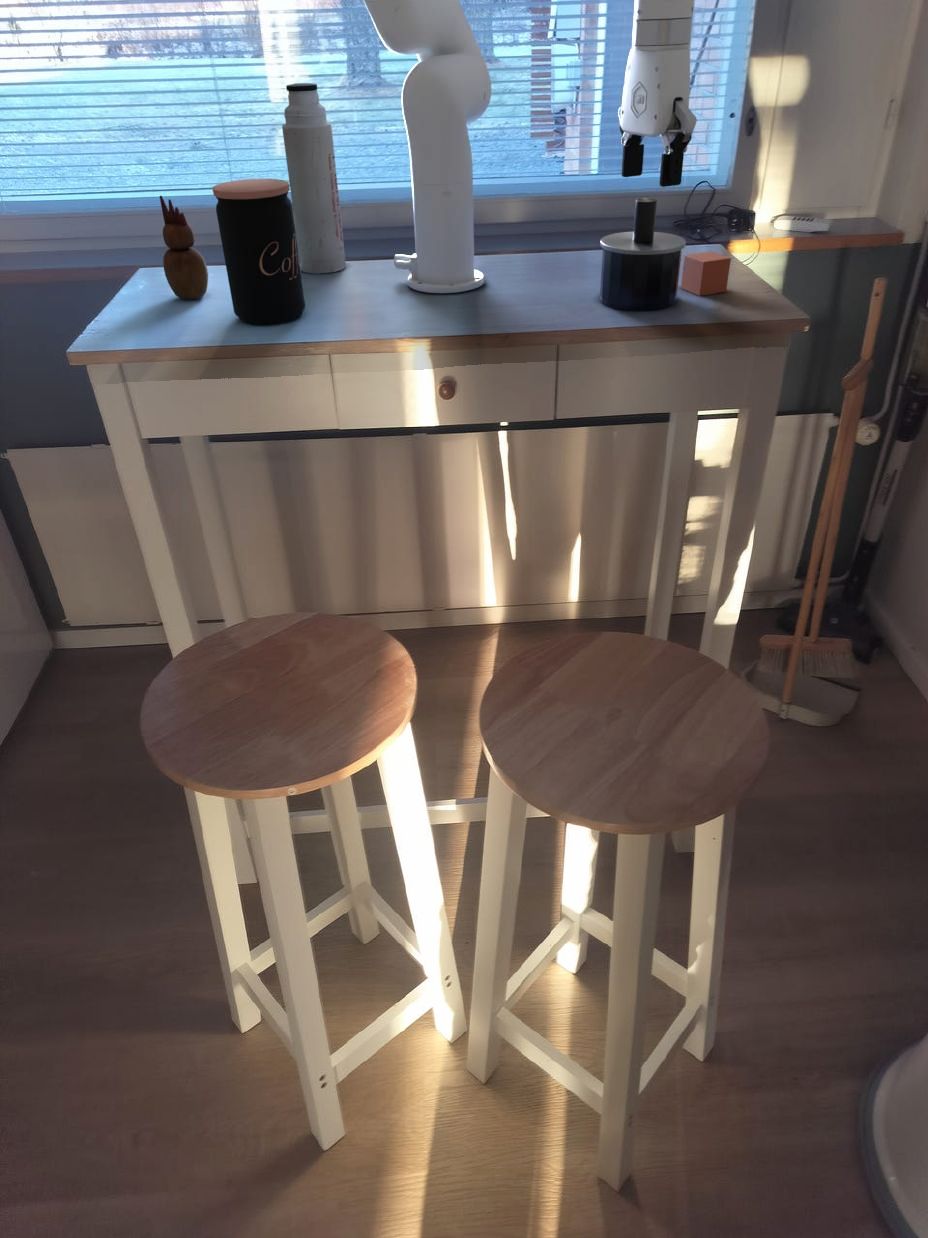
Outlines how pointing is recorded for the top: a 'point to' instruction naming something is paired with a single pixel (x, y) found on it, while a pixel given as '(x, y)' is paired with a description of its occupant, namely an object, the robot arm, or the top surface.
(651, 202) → the lid
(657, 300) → the pot
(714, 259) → the block
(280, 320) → the coffee jar
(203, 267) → the wooden figurine
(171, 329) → the top surface
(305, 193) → the thermos bottle
